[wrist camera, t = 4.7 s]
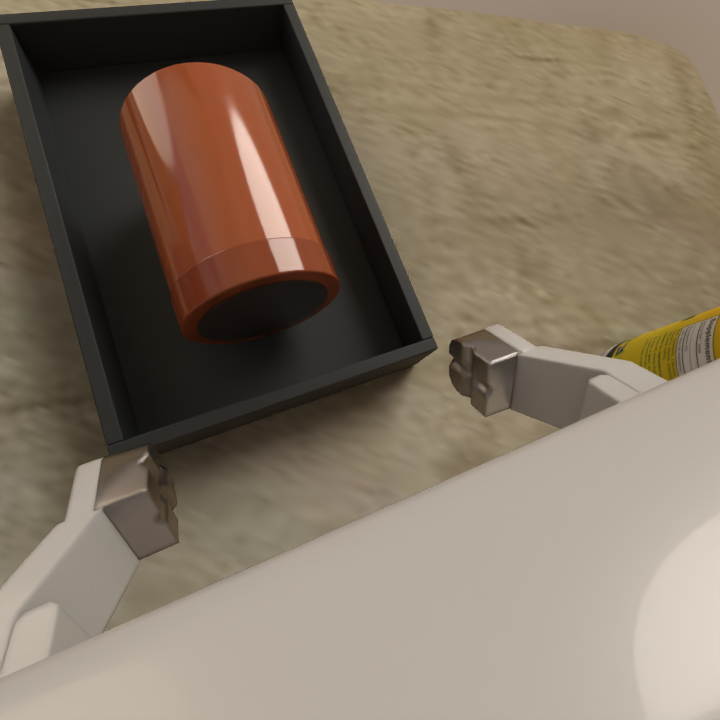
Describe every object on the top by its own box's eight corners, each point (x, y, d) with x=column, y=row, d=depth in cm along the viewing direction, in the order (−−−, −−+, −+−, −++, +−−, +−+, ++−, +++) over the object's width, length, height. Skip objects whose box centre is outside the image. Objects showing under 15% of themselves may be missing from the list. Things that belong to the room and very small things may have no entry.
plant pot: (273, 167, 22) (330, 318, 21) (144, 190, 20) (197, 358, 19) (273, 51, 16) (354, 255, 15) (88, 70, 14) (160, 306, 13)
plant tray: (415, 364, 22) (438, 348, 19) (138, 462, 18) (110, 461, 15) (287, 52, 26) (290, -6, 23) (31, 78, 22) (-9, 14, 19)
